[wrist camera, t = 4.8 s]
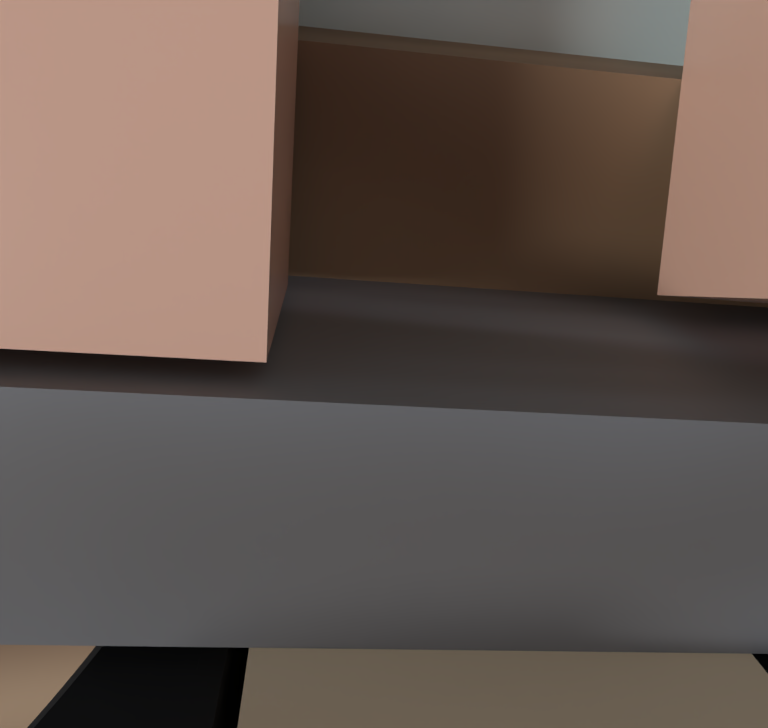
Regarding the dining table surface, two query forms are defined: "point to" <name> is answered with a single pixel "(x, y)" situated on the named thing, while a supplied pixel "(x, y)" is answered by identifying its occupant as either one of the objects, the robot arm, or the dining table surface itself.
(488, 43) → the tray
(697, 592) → the scraper
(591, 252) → the board
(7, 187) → the tile
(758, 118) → the pink block
